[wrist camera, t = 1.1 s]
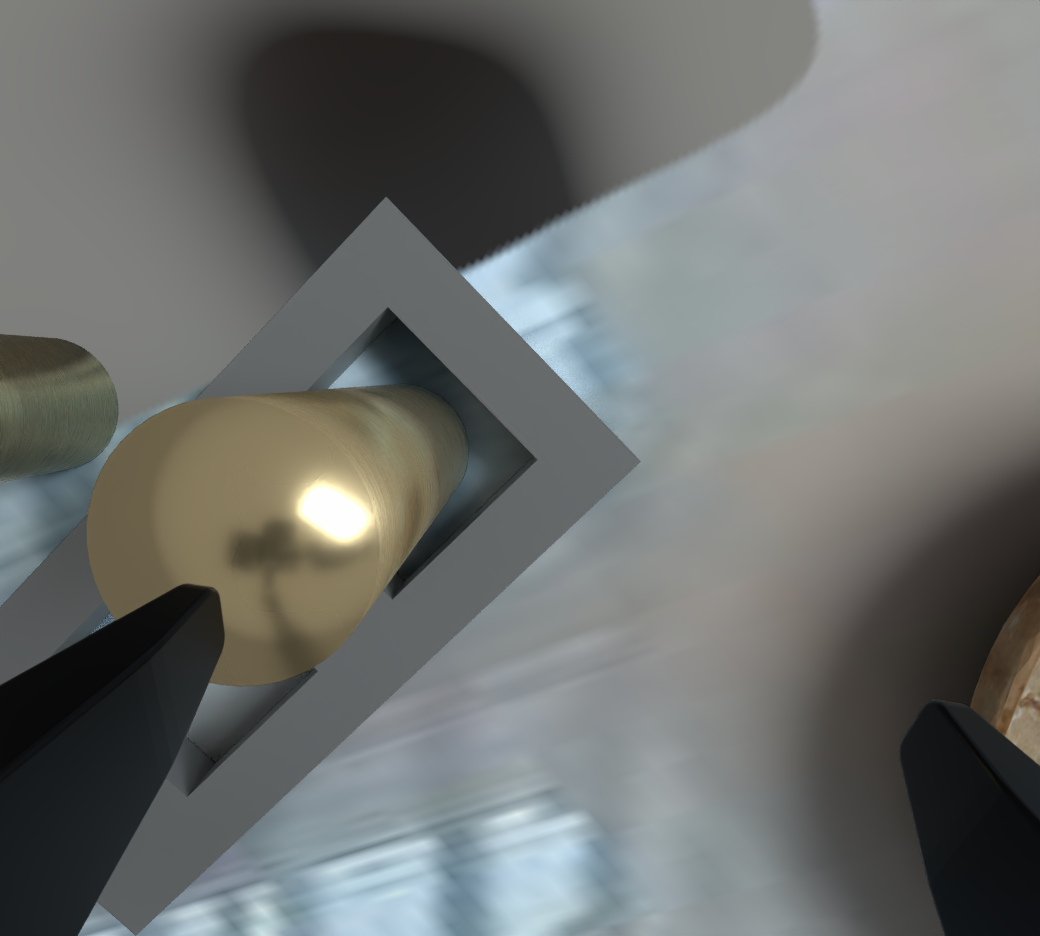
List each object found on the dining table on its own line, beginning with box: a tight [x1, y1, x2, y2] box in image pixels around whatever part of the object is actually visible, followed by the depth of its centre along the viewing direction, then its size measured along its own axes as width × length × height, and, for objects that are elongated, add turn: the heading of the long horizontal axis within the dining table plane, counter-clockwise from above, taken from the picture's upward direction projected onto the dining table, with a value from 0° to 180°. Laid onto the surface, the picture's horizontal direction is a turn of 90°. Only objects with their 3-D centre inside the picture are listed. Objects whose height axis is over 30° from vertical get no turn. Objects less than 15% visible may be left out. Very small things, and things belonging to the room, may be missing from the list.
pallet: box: [0, 197, 641, 935], centre depth 23 cm, size 24×11×2 cm, turn 134°
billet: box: [87, 384, 469, 686], centre depth 17 cm, size 4×4×13 cm
